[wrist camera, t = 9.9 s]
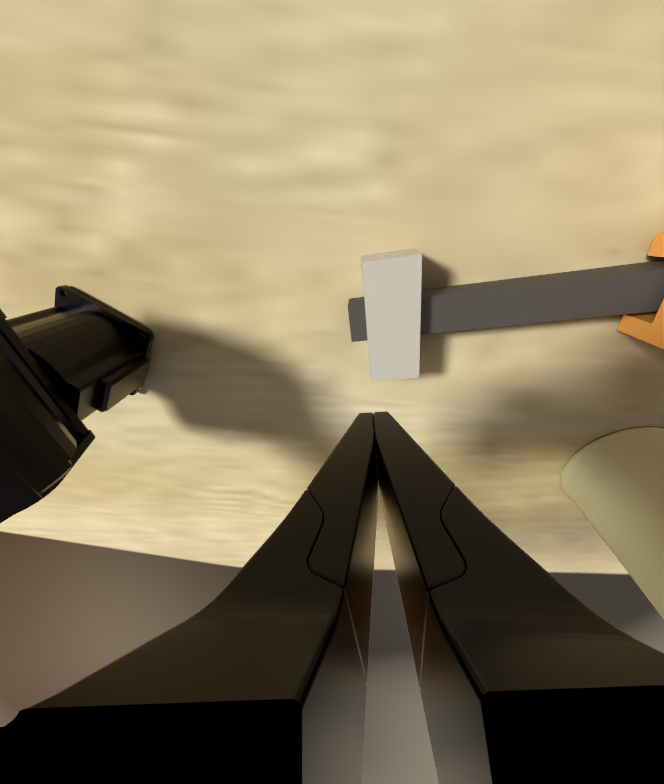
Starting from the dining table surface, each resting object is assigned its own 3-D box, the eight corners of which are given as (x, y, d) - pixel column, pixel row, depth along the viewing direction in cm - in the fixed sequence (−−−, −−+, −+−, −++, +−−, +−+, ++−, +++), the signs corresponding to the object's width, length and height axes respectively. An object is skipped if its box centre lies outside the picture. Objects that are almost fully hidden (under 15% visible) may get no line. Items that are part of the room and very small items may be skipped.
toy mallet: (355, 362, 20) (354, 399, 16) (344, 258, 17) (339, 270, 13) (776, 324, 17) (918, 359, 13) (875, 182, 13) (1118, 163, 9)
